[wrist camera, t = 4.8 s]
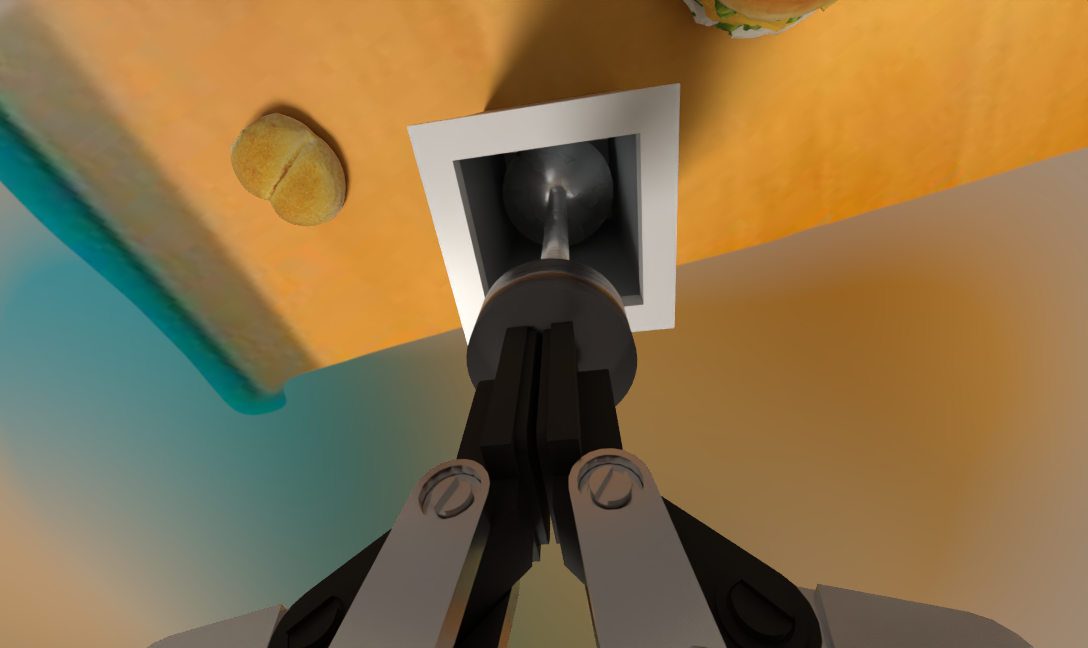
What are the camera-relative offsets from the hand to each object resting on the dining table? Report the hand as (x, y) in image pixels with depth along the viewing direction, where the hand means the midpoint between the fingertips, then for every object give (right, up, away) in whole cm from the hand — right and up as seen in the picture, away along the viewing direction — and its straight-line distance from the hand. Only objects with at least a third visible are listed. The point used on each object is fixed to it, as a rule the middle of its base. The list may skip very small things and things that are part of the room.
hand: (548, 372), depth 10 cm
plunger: (+1, +11, +18) cm, 21 cm away
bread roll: (-22, +15, +26) cm, 37 cm away
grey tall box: (+1, +14, +25) cm, 29 cm away
